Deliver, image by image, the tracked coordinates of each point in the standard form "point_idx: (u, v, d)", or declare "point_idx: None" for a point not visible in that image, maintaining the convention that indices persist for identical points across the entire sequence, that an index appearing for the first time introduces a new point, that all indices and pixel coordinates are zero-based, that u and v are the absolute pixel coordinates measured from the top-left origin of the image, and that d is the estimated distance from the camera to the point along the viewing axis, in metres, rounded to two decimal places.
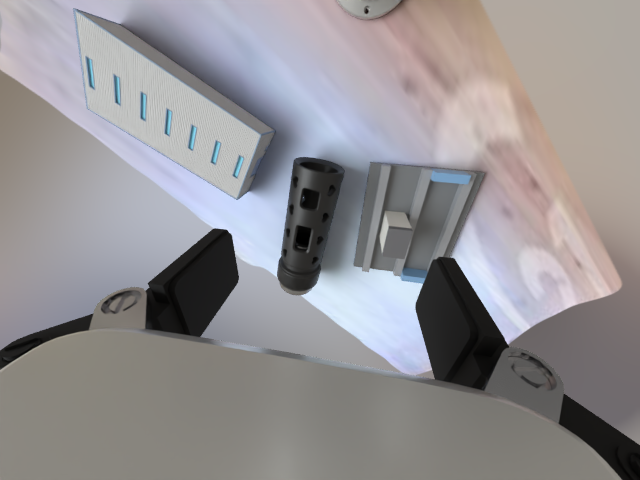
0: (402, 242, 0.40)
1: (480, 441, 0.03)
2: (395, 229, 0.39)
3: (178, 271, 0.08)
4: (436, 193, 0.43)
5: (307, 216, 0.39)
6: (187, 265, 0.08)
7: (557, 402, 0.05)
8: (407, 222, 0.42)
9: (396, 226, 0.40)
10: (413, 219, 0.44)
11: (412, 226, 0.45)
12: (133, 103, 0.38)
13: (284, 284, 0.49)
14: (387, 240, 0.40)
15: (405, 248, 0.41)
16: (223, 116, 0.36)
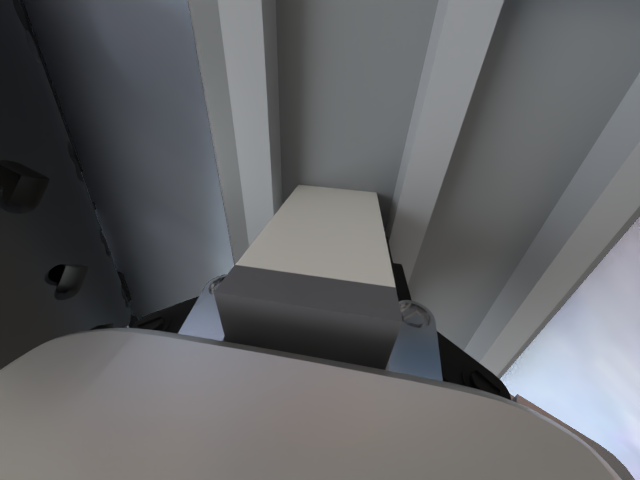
0: None
1: (480, 441, 0.03)
2: (263, 305, 0.05)
3: None
4: (525, 89, 0.08)
5: None
6: None
7: (434, 332, 0.06)
8: (375, 237, 0.07)
9: (284, 274, 0.06)
10: (410, 220, 0.10)
11: (406, 248, 0.11)
12: None
13: None
14: None
15: None
16: None
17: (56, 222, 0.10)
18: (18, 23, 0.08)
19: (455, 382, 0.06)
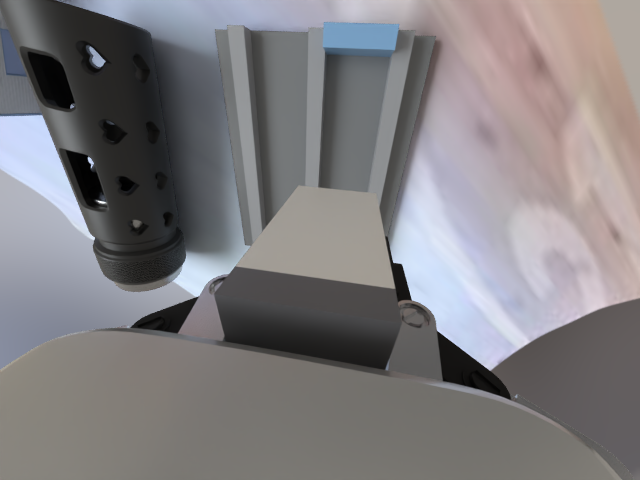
0: None
1: (480, 441, 0.03)
2: (263, 306, 0.05)
3: None
4: (348, 94, 0.22)
5: (62, 125, 0.19)
6: None
7: (434, 332, 0.06)
8: (375, 238, 0.07)
9: (284, 276, 0.06)
10: (312, 149, 0.24)
11: (313, 164, 0.25)
12: None
13: (103, 273, 0.28)
14: None
15: None
16: None
17: (160, 151, 0.24)
18: (155, 69, 0.22)
19: (455, 382, 0.06)
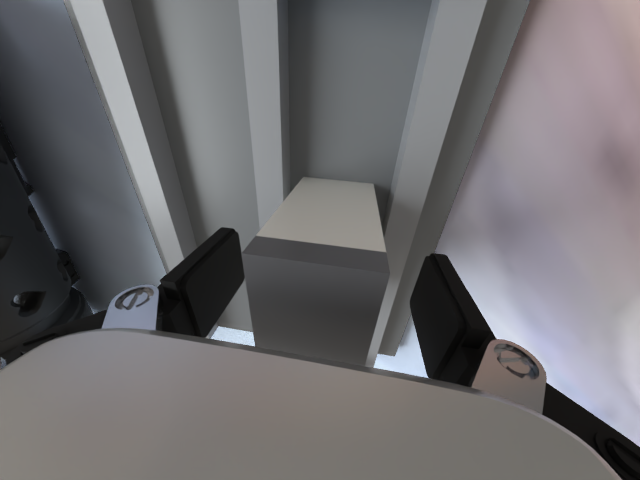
0: (335, 329, 0.07)
1: (480, 441, 0.03)
2: (280, 263, 0.06)
3: (189, 268, 0.08)
4: (338, 82, 0.10)
5: None
6: (197, 263, 0.08)
7: (541, 390, 0.05)
8: (371, 217, 0.09)
9: (296, 242, 0.07)
10: (268, 193, 0.12)
11: None
12: None
13: None
14: (256, 315, 0.07)
15: (355, 356, 0.08)
16: None
17: None
18: None
19: (582, 437, 0.05)
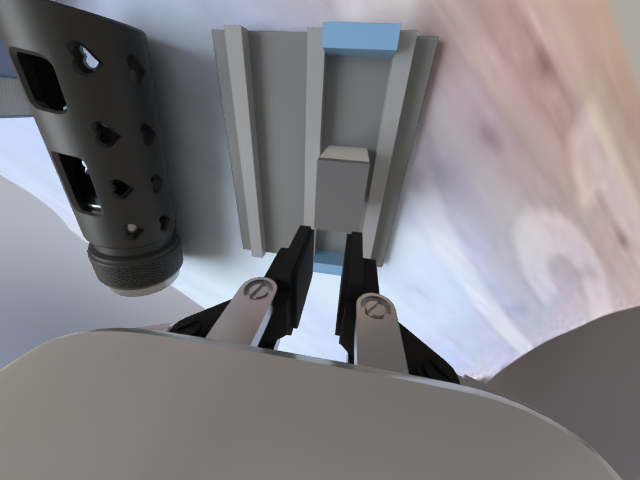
0: (350, 194, 0.18)
1: (480, 441, 0.03)
2: (331, 163, 0.17)
3: (295, 262, 0.08)
4: (349, 95, 0.22)
5: (54, 127, 0.18)
6: (297, 258, 0.09)
7: (395, 320, 0.07)
8: (364, 155, 0.20)
9: (335, 159, 0.18)
10: (311, 152, 0.23)
11: (312, 167, 0.24)
12: None
13: (98, 277, 0.27)
14: (318, 190, 0.19)
15: (357, 209, 0.19)
16: None
17: (156, 153, 0.23)
18: None
19: None
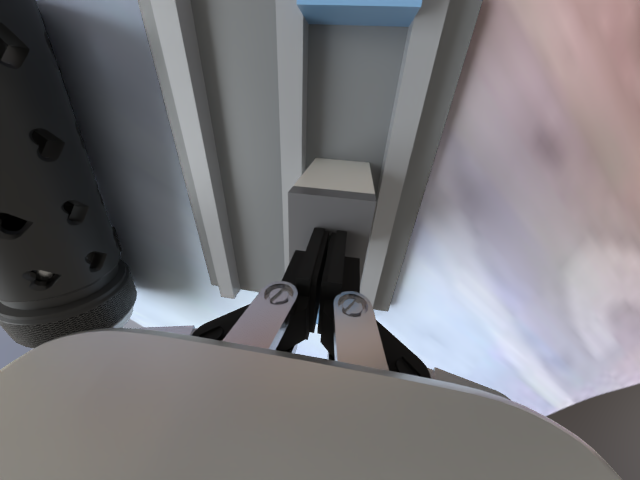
0: None
1: (480, 441, 0.03)
2: (311, 198, 0.10)
3: (313, 266, 0.08)
4: (343, 86, 0.15)
5: None
6: (315, 261, 0.09)
7: (372, 316, 0.07)
8: (366, 179, 0.13)
9: (318, 189, 0.11)
10: (290, 169, 0.16)
11: None
12: None
13: (9, 334, 0.20)
14: (292, 238, 0.12)
15: None
16: None
17: (68, 171, 0.16)
18: (47, 49, 0.14)
19: None
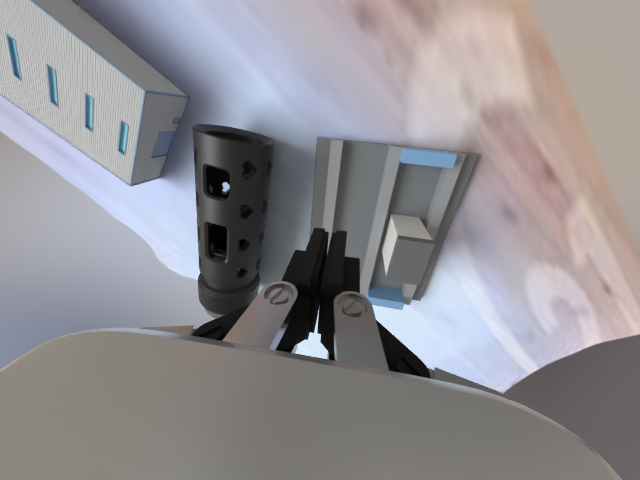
0: (417, 260, 0.27)
1: (480, 441, 0.03)
2: (408, 241, 0.26)
3: (313, 266, 0.08)
4: (410, 183, 0.30)
5: (216, 208, 0.27)
6: (315, 261, 0.09)
7: (372, 316, 0.07)
8: (424, 231, 0.28)
9: (409, 237, 0.26)
10: (379, 220, 0.32)
11: (378, 230, 0.32)
12: None
13: (203, 305, 0.35)
14: (395, 257, 0.27)
15: (421, 270, 0.27)
16: (87, 55, 0.24)
17: (264, 217, 0.32)
18: None
19: None
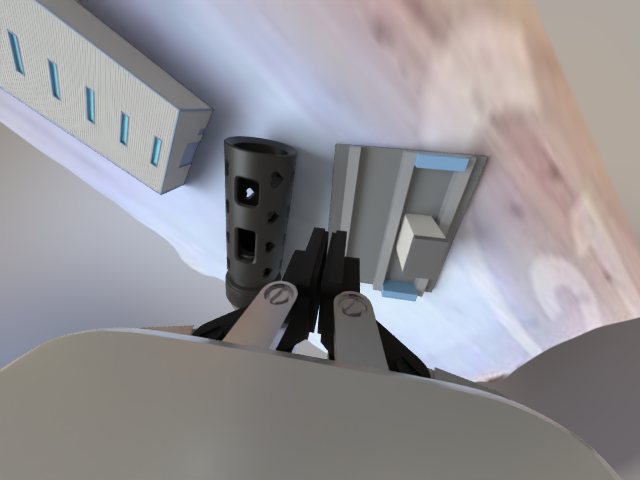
0: (432, 257, 0.29)
1: (480, 441, 0.03)
2: (424, 240, 0.28)
3: (314, 266, 0.08)
4: (423, 185, 0.32)
5: (246, 215, 0.29)
6: (315, 261, 0.09)
7: (373, 316, 0.07)
8: (438, 229, 0.30)
9: (424, 236, 0.29)
10: (394, 219, 0.34)
11: (393, 228, 0.35)
12: (2, 47, 0.27)
13: (232, 302, 0.38)
14: (411, 254, 0.29)
15: (436, 266, 0.30)
16: (125, 78, 0.26)
17: (287, 220, 0.34)
18: None
19: None
